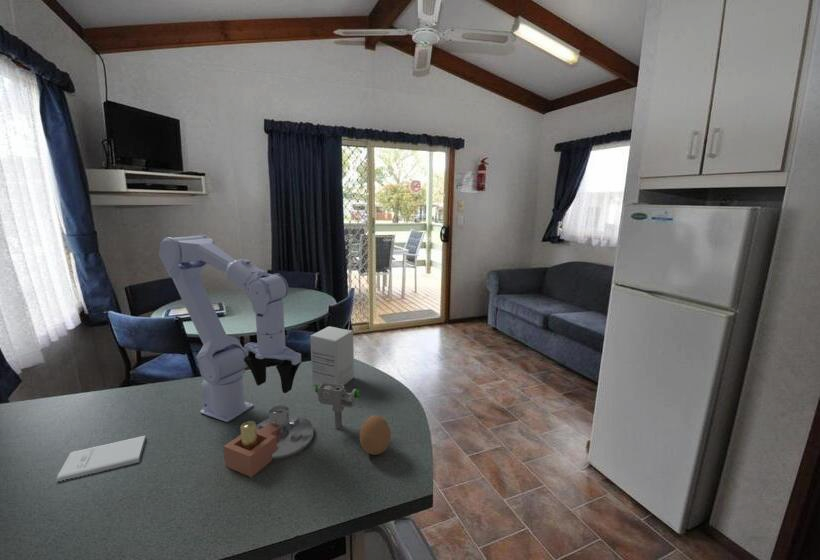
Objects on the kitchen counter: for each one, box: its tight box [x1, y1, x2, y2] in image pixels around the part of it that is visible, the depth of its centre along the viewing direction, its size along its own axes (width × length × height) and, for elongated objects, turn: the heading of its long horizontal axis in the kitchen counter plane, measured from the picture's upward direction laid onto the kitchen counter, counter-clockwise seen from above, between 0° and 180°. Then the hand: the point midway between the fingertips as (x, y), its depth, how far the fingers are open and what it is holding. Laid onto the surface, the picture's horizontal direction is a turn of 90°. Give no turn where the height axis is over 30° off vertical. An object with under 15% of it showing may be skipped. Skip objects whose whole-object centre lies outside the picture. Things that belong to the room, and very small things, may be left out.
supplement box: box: [309, 326, 355, 387], centre depth 106 cm, size 9×9×15 cm
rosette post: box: [256, 404, 314, 461], centre depth 81 cm, size 14×14×7 cm
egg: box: [359, 414, 392, 456], centre depth 77 cm, size 6×6×8 cm
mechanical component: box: [314, 383, 361, 430], centre depth 85 cm, size 3×10×10 cm, turn 78°
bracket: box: [223, 423, 281, 478], centre depth 75 cm, size 7×10×4 cm
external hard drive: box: [55, 435, 147, 482], centre depth 74 cm, size 2×8×12 cm
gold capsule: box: [240, 420, 257, 451], centre depth 73 cm, size 3×3×7 cm
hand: (274, 387), depth 84 cm, fingers open, 7 cm apart
